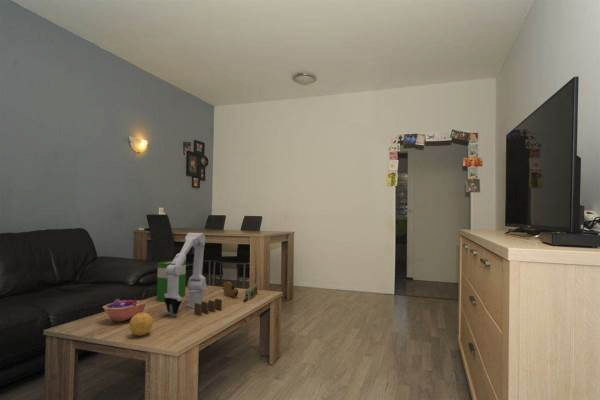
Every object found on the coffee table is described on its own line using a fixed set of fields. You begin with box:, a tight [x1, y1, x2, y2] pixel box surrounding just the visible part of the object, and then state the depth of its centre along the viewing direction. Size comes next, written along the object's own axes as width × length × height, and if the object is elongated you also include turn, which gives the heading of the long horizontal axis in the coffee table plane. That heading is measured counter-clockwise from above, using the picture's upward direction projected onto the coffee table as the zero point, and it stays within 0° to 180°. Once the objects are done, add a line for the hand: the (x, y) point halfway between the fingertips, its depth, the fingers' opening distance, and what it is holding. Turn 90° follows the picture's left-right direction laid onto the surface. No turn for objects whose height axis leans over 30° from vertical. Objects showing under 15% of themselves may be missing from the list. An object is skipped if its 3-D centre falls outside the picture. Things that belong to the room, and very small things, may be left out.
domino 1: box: [168, 304, 177, 318], centre depth 189 cm, size 1×5×6 cm, turn 49°
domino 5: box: [214, 298, 223, 312], centre depth 202 cm, size 1×5×6 cm, turn 49°
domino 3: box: [201, 300, 209, 315], centre depth 195 cm, size 1×5×6 cm, turn 49°
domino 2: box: [193, 303, 202, 317], centre depth 191 cm, size 1×5×6 cm, turn 49°
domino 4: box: [207, 299, 216, 313], centre depth 198 cm, size 1×5×6 cm, turn 49°
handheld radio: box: [242, 284, 258, 303], centre depth 231 cm, size 7×3×25 cm
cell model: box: [102, 298, 146, 323], centre depth 181 cm, size 17×20×11 cm
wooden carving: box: [222, 281, 239, 298], centre depth 234 cm, size 16×5×10 cm, turn 49°
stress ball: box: [128, 311, 154, 337], centre depth 159 cm, size 10×10×10 cm
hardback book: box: [156, 259, 187, 303], centre depth 228 cm, size 18×7×24 cm, turn 158°
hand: (172, 312), depth 189 cm, fingers closed on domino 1, 5 cm apart
